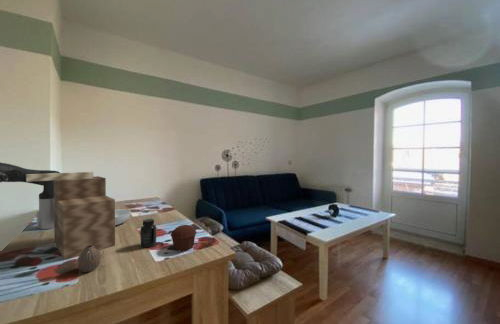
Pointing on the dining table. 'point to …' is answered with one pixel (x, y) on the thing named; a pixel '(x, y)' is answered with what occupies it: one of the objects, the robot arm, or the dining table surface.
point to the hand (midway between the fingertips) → (19, 172)
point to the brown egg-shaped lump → (89, 259)
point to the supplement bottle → (148, 233)
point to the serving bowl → (121, 215)
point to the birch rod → (58, 176)
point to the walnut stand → (82, 216)
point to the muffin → (183, 237)
